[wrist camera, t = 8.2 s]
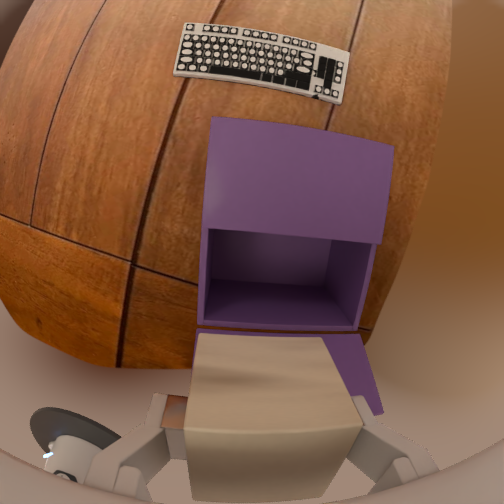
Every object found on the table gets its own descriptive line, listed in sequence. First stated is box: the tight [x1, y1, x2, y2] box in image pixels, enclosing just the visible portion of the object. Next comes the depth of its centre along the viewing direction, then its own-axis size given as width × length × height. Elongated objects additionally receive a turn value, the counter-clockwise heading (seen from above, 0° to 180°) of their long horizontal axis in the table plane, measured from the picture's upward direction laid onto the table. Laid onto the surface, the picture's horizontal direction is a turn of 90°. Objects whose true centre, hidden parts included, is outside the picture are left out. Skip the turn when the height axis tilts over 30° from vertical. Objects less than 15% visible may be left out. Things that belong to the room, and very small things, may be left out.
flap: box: [190, 328, 384, 416], centre depth 19 cm, size 7×13×1 cm
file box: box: [197, 116, 394, 331], centre depth 25 cm, size 15×13×10 cm
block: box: [183, 333, 363, 503], centre depth 9 cm, size 4×4×4 cm
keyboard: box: [173, 23, 350, 105], centre depth 25 cm, size 17×6×2 cm, turn 80°
